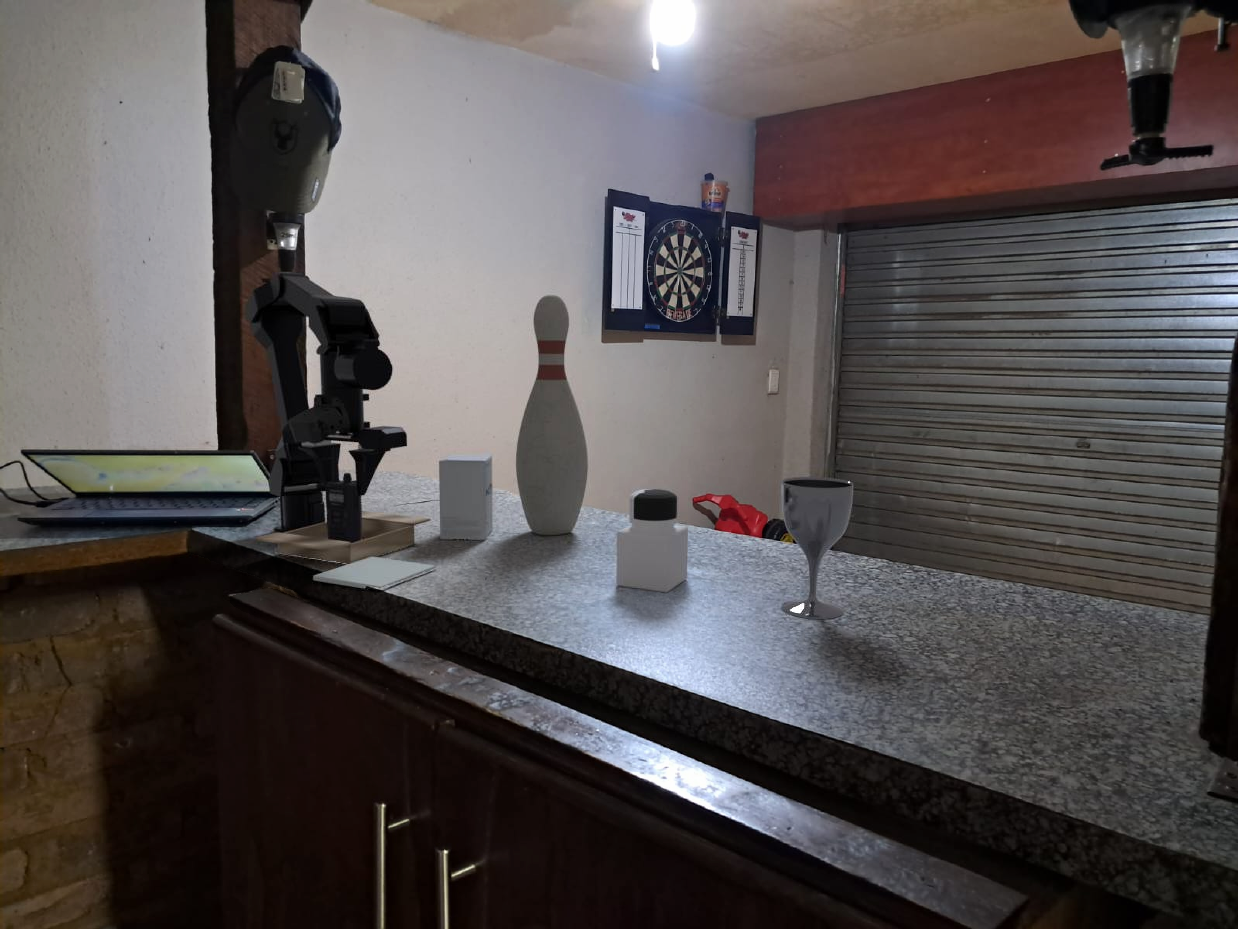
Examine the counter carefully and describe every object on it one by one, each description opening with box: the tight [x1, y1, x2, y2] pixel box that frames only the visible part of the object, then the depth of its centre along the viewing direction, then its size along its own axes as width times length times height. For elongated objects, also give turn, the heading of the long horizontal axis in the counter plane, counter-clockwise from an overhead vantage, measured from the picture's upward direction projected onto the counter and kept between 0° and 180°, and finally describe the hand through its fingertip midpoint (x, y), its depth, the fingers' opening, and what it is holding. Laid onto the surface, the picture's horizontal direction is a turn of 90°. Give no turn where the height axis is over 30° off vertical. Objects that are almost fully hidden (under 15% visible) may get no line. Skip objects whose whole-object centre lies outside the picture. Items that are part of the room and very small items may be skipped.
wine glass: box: [780, 476, 854, 620], centre depth 97 cm, size 8×8×15 cm
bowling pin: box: [515, 294, 589, 536], centre depth 134 cm, size 11×12×38 cm
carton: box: [254, 510, 432, 564], centre depth 124 cm, size 14×22×3 cm, turn 155°
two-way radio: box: [325, 447, 363, 543], centre depth 123 cm, size 6×4×15 cm
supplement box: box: [438, 454, 494, 541], centre depth 133 cm, size 7×7×13 cm
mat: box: [312, 557, 437, 590], centre depth 111 cm, size 11×11×1 cm
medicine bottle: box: [615, 488, 689, 593], centre depth 107 cm, size 7×7×12 cm
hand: (346, 493), depth 123 cm, fingers closed on two-way radio, 5 cm apart
